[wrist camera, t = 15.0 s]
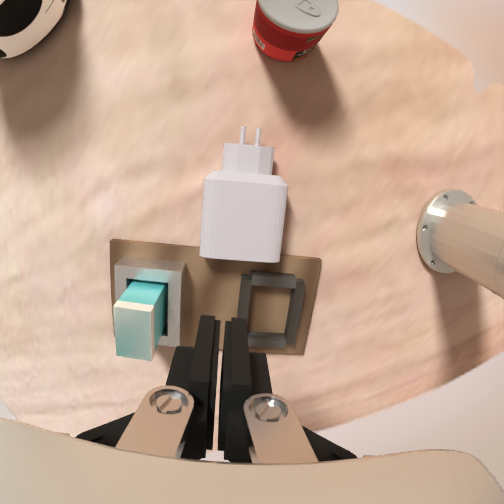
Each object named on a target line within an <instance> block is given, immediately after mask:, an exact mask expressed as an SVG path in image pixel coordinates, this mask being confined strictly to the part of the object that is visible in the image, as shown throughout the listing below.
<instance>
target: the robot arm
mask: <svg viewBox="0 0 504 504" xmlns="http://www.w3.org/2000/svg"><path fill="white" fill-rule="evenodd" d="M417 245H418V249H419V253H420V255H421V257H422V259H423V261H424V262H425V263H426V264H427V265H428V266H429V267H430V268H431V269H433V270H435V271H437V272H439V273H446V274H447V273H453V272H455V271H458V272H459V273H461V274H463V275H465V276H466V277H468V278H470V279H471V280H473V281H475V282H476V283H478V284H480V285H481V286H483V287H485V288H486V289H488V290H490V291H491V292H493V293H495V294H496V295H498V296H499V297H501V298H503V299H504V213H503V212H500V211H496V210H492V209H489V208H485V207H481V206H478V205H477V204H476V202H475V201H474V200H473V198H472V197H471V196H470V195H468V194H467V193H466V192H463V191H461V190H456V189H447V190H444V191H441V192H439V193H438V194H436V195H435V196H434V197H433V198H431V200H430V201H429V202H428V203H427V204H426V206H425V208H424V210H423V211H422V214H421V217H420V219H419V223H418V228H417ZM220 325H221V320H215V316H211V315H201V316H200V321H199V326H198V331H197V336H196V342H195V347H194V348H193V347H183V346H177V347H176V349H175V353H174V357H173V360H172V364H171V367H170V371H169V375H168V378H167V382H166V386H160V387H156V388H154V389H152V390H150V391H149V392H148V393H147V394H146V395H145V397H144V398H143V400H142V402H141V404H140V405H139V407H138V409H137V410H136V412H134V413H132V414H130V415H127V416H125V417H122V418H120V419H117V420H114V421H112V422H109V423H107V424H104V425H101V426H99V427H96V428H93V429H91V430H88V431H85V432H83V433H81V434H79V435H77V436H76V437H71V436H70V435H69V434H68V433H58V432H53V431H50V430H46V429H43V428H39V427H36V426H33V425H30V424H26V423H22V422H18V421H14V420H10V419H4V418H0V504H504V489H503V488H502V486H501V485H500V483H499V482H498V481H497V479H496V478H495V477H494V476H493V474H492V473H491V472H490V471H489V470H488V468H487V467H486V466H485V465H484V464H483V463H481V461H479V460H478V459H477V458H475V457H474V456H472V455H470V454H468V453H464V452H460V451H454V450H442V449H434V450H433V449H432V450H431V449H430V450H417V451H408V452H401V453H394V454H387V455H379V456H369V455H364V456H363V458H357V457H356V455H354V454H353V453H351V452H350V451H348V450H346V449H344V448H342V447H340V446H338V445H336V444H334V443H332V442H331V441H329V440H327V439H325V438H323V437H321V436H319V435H318V434H316V433H314V432H312V431H310V430H309V429H307V428H305V427H303V426H302V425H301V424H300V422H299V420H298V417H297V415H296V413H295V411H294V409H293V407H292V405H291V404H290V402H289V401H287V400H286V399H285V398H283V397H280V396H278V395H274V394H272V388H271V382H270V376H269V370H268V364H267V358H266V354H265V353H254V352H249V347H248V335H247V322H246V318H234V317H231V321H225V331H224V343H223V355H222V367H221V380H220V401H219V427H218V450H220V451H224V459H225V460H229V461H230V462H217V461H204V460H200V459H201V458H205V455H206V449H207V450H212V448H213V431H214V415H215V400H216V385H217V369H218V354H219V339H220Z"/></svg>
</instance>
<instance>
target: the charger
mask: <svg viewBox="0 0 504 504" xmlns="http://www.w3.org/2000/svg"><path fill="white" fill-rule="evenodd" d="M245 131H246V127H245V126H242V127H241V134H240V144H233V143H224V150H223V161H222V170H214V171H213V172H211V173H210V174H209V175H208V176H207V177H206V178H204V189H203V203H202V218H201V234H200V253H199V255H200V256H202V257H206V258H214V259H227V260H241V261H254V262H270V263H274V262H279V261H280V253H281V245H282V237H283V228H284V219H285V210H286V201H287V192H288V185H287V184H286V183H285V181H284V180H283V179H282V178H281V176H277V175H272V167H273V157H274V148H273V147H266V146H259V144H260V134H261V128H256V137H255V145H247V144H244V141H245Z"/></svg>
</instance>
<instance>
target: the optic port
mask: <svg viewBox="0 0 504 504" xmlns="http://www.w3.org/2000/svg"><path fill="white" fill-rule="evenodd" d="M185 267H186V263H184V262H174V261H164V260H154V259H144V258H134V257H124V256H123V257H122V258H121V259H120V260H119V261H118V262H117V263H116V264H115V265H114V271H115V298H116V302H117V300H119V298H120V297H121V296H122V294H123V293H124V292H125V291H126V289H127V288H128V287H129V285H130V284H131V283H132V282H133V280H134V279H138V280H147V281H156V282H165V283H168V323H166V324H165V327H164V329H163V332H162V335H161V337H160V340H159V343H158V345H161V346H169V347H177V346H180V344H181V340H182V336H183V319H184V289H185Z"/></svg>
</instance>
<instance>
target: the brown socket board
mask: <svg viewBox="0 0 504 504" xmlns="http://www.w3.org/2000/svg"><path fill="white" fill-rule="evenodd" d="M199 253H200V247H195V246H184V245H174V244H163V243H152V242H141V241H131V240H120V239H112V240H110V276H111V298H112V314H113V306H114V304H115V303H116V298H115V271H114V265H115V264H116V263H117V262H118V261H119V260H120V259H121V258H122V257H123V256H124V257H134V258H144V259H154V260H164V261H174V262H184V263H186V267H185V289H184V319H183V336H182V340H181V344H180V345H181V346H190V347H195V342H196V336H197V331H198V326H199V321H200V316H201V315H211V316H215V320H221V325H220V339H219V349H222V350H223V343H224V331H225V321H231V317H234V318H246V322H247V335H248V347H249V352H266V353H288V354H303V352H304V348H305V343H306V339H307V334H308V329H309V324H310V319H311V315H312V310H313V304H314V299H315V294H316V289H317V283H318V278H319V273H320V267H321V261H322V260H321V259H320V258H314V257H303V256H292V255H281V254H280V261H279V262H274V263H270V262H254V261H241V260H227V259H214V258H206V257H202V256H200V255H199ZM166 323H168V317H167V322H166ZM113 327H114V315H113ZM114 337H115V331H114Z"/></svg>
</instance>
